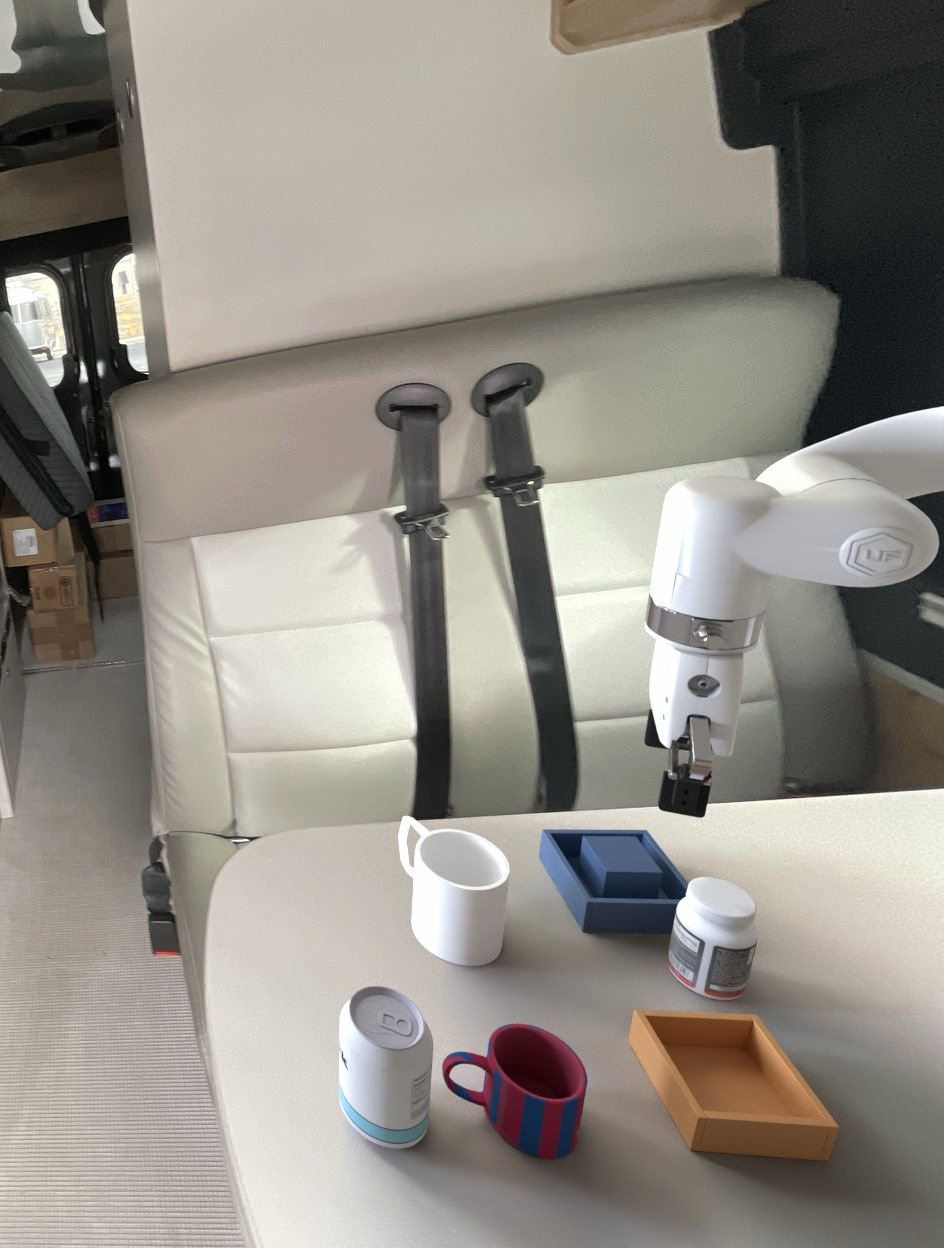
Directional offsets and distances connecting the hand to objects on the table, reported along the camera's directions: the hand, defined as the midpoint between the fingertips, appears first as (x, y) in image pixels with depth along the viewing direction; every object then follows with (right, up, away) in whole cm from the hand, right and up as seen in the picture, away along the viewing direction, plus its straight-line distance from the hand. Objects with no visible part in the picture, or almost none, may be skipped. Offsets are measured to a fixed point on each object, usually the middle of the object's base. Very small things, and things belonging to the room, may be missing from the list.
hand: (672, 778), depth 77 cm
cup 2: (-20, -26, -7) cm, 34 cm away
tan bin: (-3, -24, -9) cm, 26 cm away
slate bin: (+2, -15, +10) cm, 19 cm away
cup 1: (-16, -18, +10) cm, 27 cm away
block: (+2, -15, +10) cm, 18 cm away
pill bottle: (+4, -19, +1) cm, 19 cm away
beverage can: (-30, -27, -6) cm, 41 cm away
